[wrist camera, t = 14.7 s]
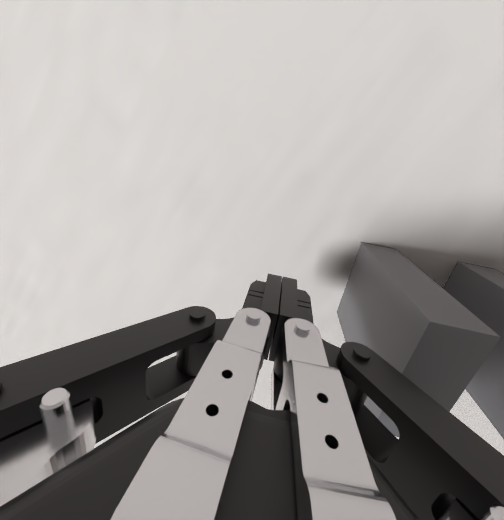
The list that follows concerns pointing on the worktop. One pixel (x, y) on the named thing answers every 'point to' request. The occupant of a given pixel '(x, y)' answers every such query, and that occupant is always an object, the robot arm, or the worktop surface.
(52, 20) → the worktop surface
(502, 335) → the domino
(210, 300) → the worktop surface
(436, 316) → the domino
